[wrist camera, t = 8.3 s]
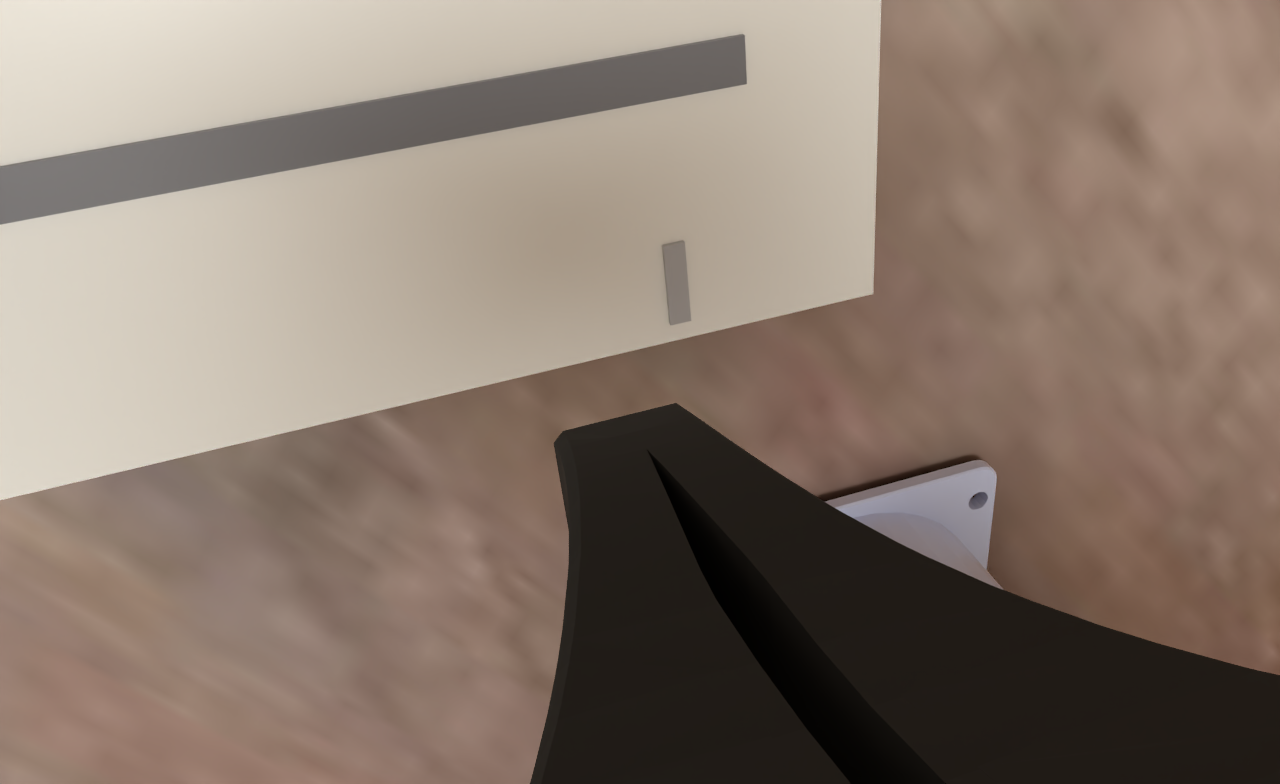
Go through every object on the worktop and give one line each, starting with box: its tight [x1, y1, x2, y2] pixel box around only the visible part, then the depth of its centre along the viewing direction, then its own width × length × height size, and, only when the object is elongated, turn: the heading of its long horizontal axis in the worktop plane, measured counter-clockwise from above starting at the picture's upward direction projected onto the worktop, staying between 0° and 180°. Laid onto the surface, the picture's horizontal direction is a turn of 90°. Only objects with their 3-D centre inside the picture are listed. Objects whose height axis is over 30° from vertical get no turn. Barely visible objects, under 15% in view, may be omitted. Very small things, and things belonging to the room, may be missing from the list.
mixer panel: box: [0, 0, 881, 500], centre depth 16 cm, size 10×24×2 cm, turn 96°
